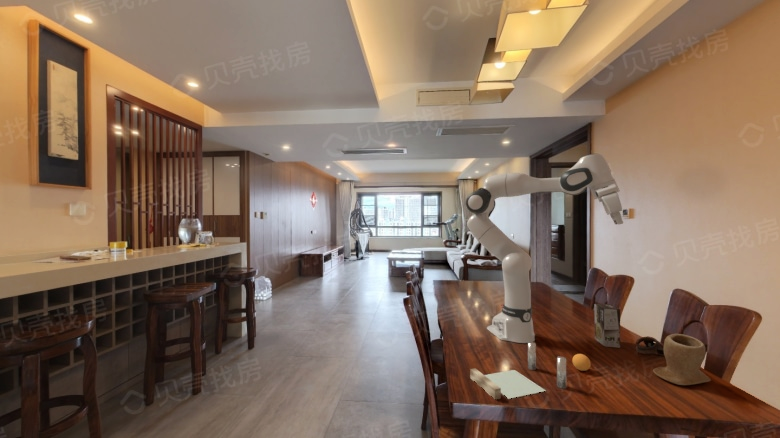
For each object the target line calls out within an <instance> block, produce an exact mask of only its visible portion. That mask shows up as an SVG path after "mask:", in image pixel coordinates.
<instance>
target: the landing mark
mask: <svg viewBox="0 0 780 438" xmlns="http://www.w3.org/2000/svg"><path fill="white" fill-rule="evenodd" d="M483 375H484V376H486V377H487V378H488V379H490V380H491V381H492V382H493V383H495V384H496V385H497V386H498V387H500V388H501V395H502V396H504V395H505V396H506V397H507V399H508V400H511V398H512V399H517V398H520V397H521V398H522V397H525V396H526V395H527V396H530V394H531V395H535V394H540V393H539V392H541V393H545V392H547V390H546V389H545V388H543V387H541V386H539V385H538V384H537V383H535V382H533V381H532V380H530V379H529V378H528V377H526V376H525V375H523V374H521V372H518V371H517V370H515V369H511V370H505V371H500V372H494V373H489V374H483ZM544 391H545V392H544ZM505 396H504V397H505ZM506 397H505V398H506ZM516 397H517V398H516Z"/></svg>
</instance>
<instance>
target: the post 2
mask: <svg viewBox="0 0 780 438" xmlns="http://www.w3.org/2000/svg"><path fill="white" fill-rule="evenodd" d="M556 387H558V388H559V389H562V390H565V389H567V358H566V357H564V356H557V357H556Z"/></svg>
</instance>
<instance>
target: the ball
mask: <svg viewBox="0 0 780 438" xmlns="http://www.w3.org/2000/svg"><path fill="white" fill-rule="evenodd" d="M572 365H573V366H574V367H575V369H577V370H578V371H581V372H585V371H588V370H589V369H590V368H591V360H590V358H589V357H588V356H586V354H583V353H577V354H575V355H573V357H572Z"/></svg>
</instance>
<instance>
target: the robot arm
mask: <svg viewBox="0 0 780 438" xmlns="http://www.w3.org/2000/svg"><path fill="white" fill-rule="evenodd" d="M611 171H612V170H611V168H610V165H609V164H608V162H607V160H606V159H605V157H604V156H603V155H602V154H600V153H590V154H586V155H582V156H581V157H580V158H579V160H578V161H577V162H576V163H575V164H574V165H573V166H572V167H571V168H569V169H568V170H566V171H564V173H562V175H561V176H559V177H547V178H546V177H545V178H539V177H534V176H531V175H528V174H525V173H521V172H506V173H499V174H494V175H493V174H492V175H489V176H488V177H486V178H485V180H484V181H483V185H482V186H483V187H479V188H477V189H476V190H475V191H473V192H471V193H470V194H468V195H467V197H466V199H465V205H466V209H467V210H468V211H469V212H470V213H471V215H470V216H469V218H468V220H467V222H466V226H467V228H468V230H469V231H470V233H471V234H472V236H473V237H474V238H475V239H476V240H477V241H478V242H479V243H480V244H481V245H482V246H483V248H484V249H486V251H488V252H489V254H491V255H493V257H495V258H496V259H498V260H499V261H500V262H501V268H502V280H503V285H504V286H503V287H504V304H500V307H501V308H502V310H501V312H499V313H498V314H496V315H495V316H493V317H492V320H491V322H492V323H491V324H489V325H488V326H487V327H486V329H487V330H488V331H489V332H490V333H491V334H492V335H494V336H495V337H497V339H499V340H501V341H508V342H512V343H517V344H518V343H519V344H528V342H535V340H536V339H535V337H536V333H535V332H534V324H533V323H534V322H533V318H532V316H533V308H532V306H531V305H532V304H531V303H532V300H531V299H532V296H531V295H532V294H531V293H532V292H531V291H532V290H531V283H530V281H531V280H530V270H531V269H532V267H533V260H532V257H531V256H530V254H529V253H527V252H526V251H525V250H524V249H523V248H521V247H520V246H519V245H518V244H517V243H515V241H513V240H512V238H510V237H509V236H507V235H506V234H505V233H504V232H503V231H502V229H500V228H499V227H498V226H497V224H495V223H494V222H493V221H492V220H491V219H490V217H491V215H492V213H493V212H494V209H496V199H498V198H508V197H509V198H511V197H520V196H524V195H529V194H530V195H531V194H535V193H549V192H559V193H560V192H561V193H564V194H566V195H569V196H577V195H580V194H583V193H584V192H585V190H586V189H587V188H589V190H590V193H591V195H592V198H593V199H594V200H597V199H598V202H599V203H601V204H602V206H603V208H604V211H605V213H606V215H610V217H611V219H612V221H613V223H614V225H622V224H624V220H623V218H622V214H621V211H623V206H622V203H621V200H620V197H619V194H618V193H619V192H620V188H619V186H618V183H617V181H616V179H615V178H614V177H613V175H612V172H611Z"/></svg>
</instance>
